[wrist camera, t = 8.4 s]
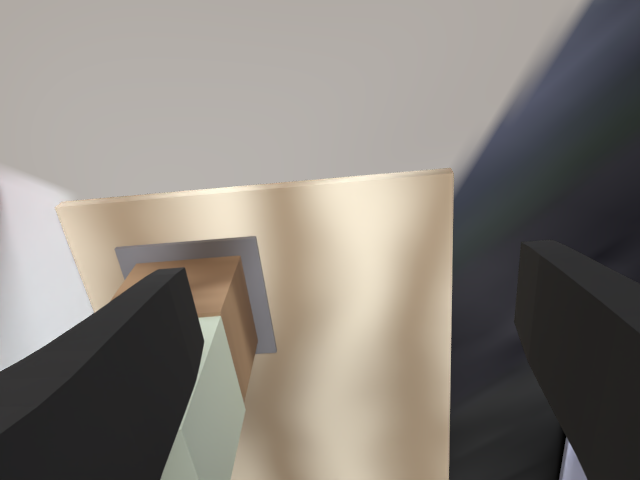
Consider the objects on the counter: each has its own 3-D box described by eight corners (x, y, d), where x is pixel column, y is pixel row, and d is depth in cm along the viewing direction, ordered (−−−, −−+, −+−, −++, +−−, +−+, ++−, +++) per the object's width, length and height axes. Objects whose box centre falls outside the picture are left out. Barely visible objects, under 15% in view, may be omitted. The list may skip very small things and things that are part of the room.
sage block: (221, 315, 18) (181, 429, 13) (245, 409, 20) (218, 535, 15) (97, 326, 18) (19, 440, 14) (134, 417, 20) (77, 541, 16)
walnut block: (240, 255, 21) (220, 311, 18) (257, 341, 23) (243, 406, 20) (136, 263, 22) (96, 320, 18) (162, 347, 24) (131, 412, 20)
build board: (450, 167, 20) (454, 175, 19) (446, 498, 29) (448, 512, 28) (61, 201, 21) (52, 209, 21) (174, 508, 30) (170, 521, 30)
